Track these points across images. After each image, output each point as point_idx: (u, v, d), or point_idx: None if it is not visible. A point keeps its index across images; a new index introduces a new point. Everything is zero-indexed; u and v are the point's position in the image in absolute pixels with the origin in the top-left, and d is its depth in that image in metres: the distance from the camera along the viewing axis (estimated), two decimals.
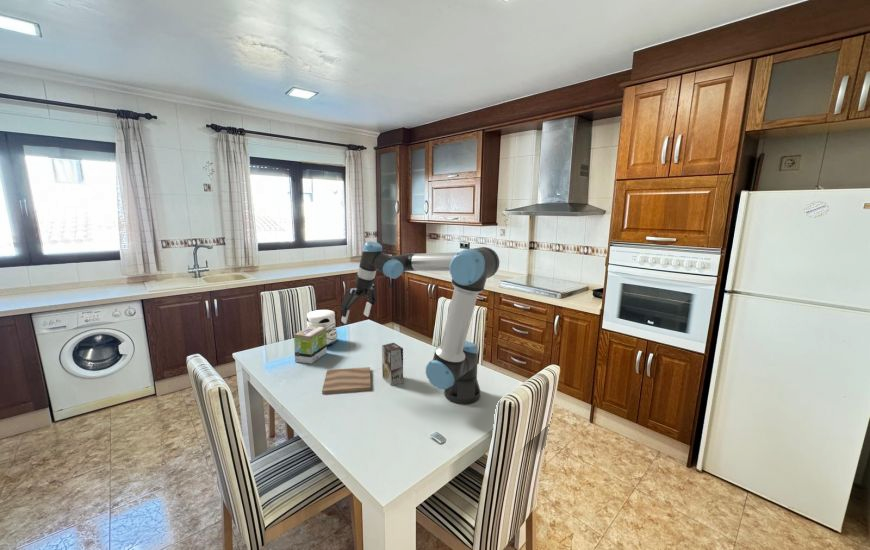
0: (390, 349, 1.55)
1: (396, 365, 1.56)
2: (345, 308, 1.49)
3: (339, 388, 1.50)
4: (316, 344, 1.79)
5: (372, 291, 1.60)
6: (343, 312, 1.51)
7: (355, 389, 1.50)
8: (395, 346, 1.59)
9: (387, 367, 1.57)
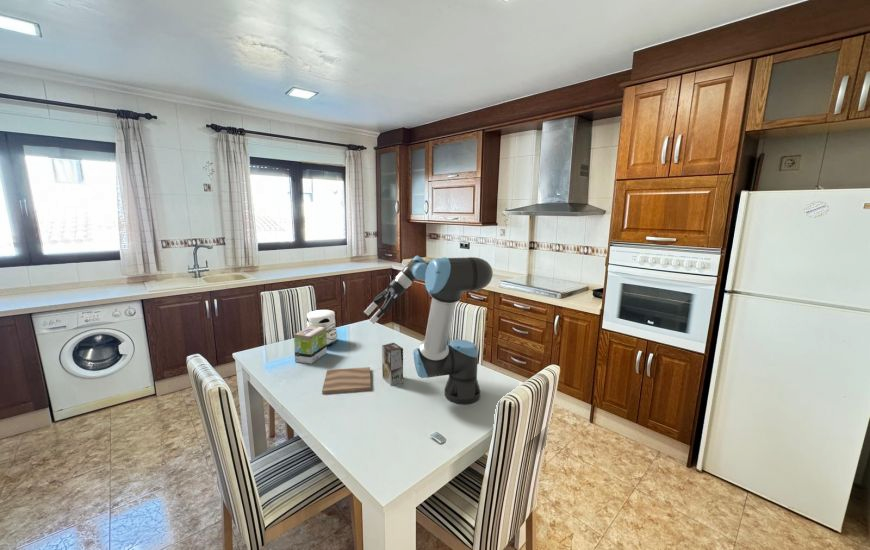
0: (390, 349, 1.55)
1: (396, 365, 1.56)
2: (375, 298, 1.70)
3: (339, 388, 1.50)
4: (316, 344, 1.79)
5: None
6: None
7: (355, 389, 1.50)
8: (395, 346, 1.59)
9: (387, 367, 1.57)
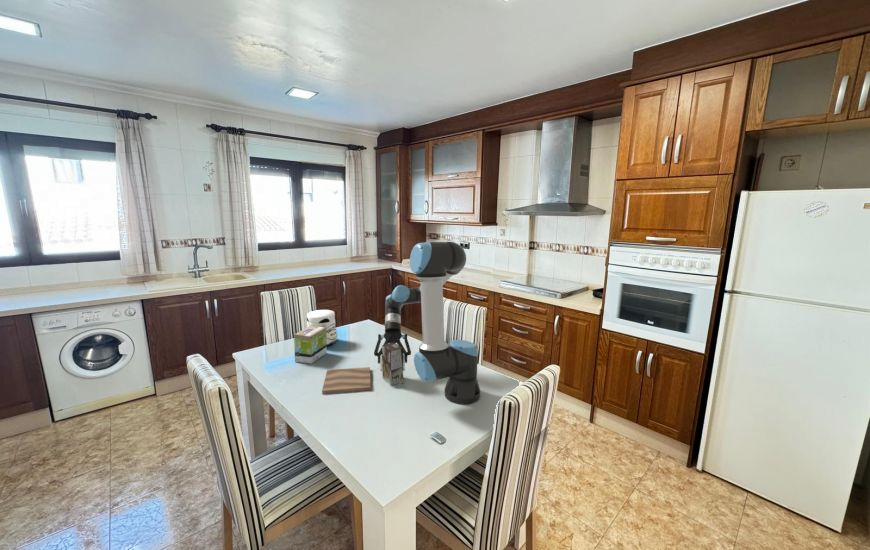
0: (390, 349, 1.55)
1: (396, 365, 1.56)
2: (376, 351, 1.60)
3: (339, 388, 1.50)
4: (316, 344, 1.79)
5: (405, 340, 1.65)
6: None
7: (355, 389, 1.50)
8: (395, 346, 1.59)
9: (387, 367, 1.57)
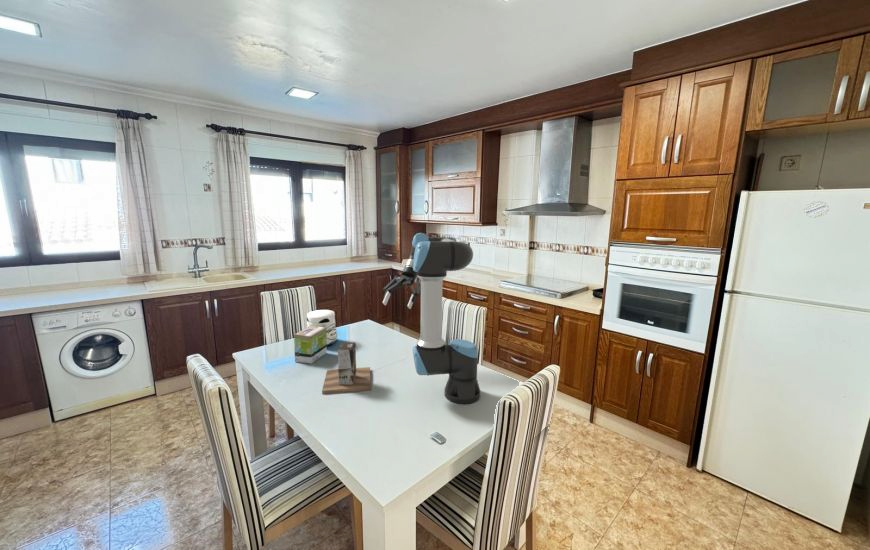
0: (340, 348, 1.52)
1: (344, 365, 1.51)
2: (385, 288, 1.75)
3: (339, 388, 1.50)
4: (316, 344, 1.79)
5: None
6: None
7: (355, 389, 1.50)
8: (350, 345, 1.54)
9: None
